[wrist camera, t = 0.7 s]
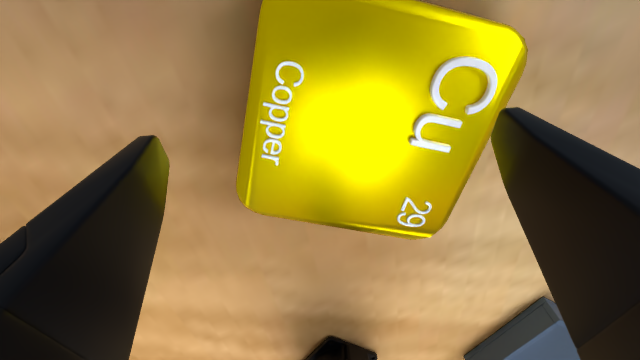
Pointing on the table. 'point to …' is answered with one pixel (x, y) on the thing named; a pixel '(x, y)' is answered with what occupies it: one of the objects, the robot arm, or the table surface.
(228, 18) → the table surface
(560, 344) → the tray
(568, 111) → the table surface
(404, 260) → the table surface
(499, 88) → the element tile
